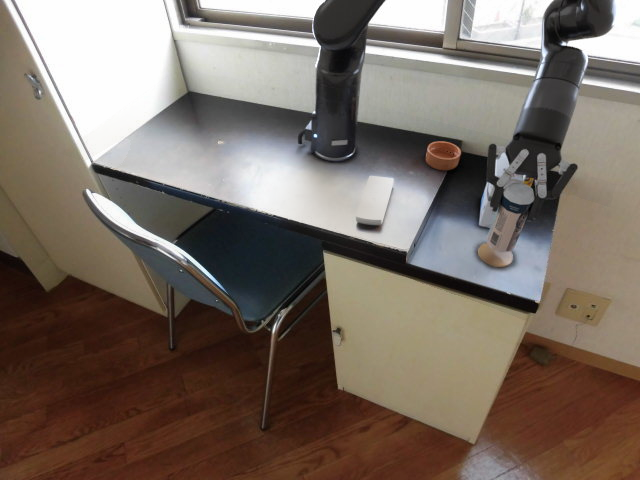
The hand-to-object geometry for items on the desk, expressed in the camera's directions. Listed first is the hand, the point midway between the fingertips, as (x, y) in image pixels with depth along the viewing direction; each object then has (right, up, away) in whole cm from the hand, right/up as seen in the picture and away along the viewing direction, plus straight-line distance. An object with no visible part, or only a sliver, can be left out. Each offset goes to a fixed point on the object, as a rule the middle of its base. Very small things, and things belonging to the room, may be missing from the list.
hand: (511, 215), depth 76 cm
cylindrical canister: (+1, -5, +7) cm, 9 cm away
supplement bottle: (+8, +5, +21) cm, 23 cm away
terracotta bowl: (-4, +14, +30) cm, 33 cm away
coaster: (0, -7, +8) cm, 11 cm away
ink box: (+3, +1, +17) cm, 17 cm away
